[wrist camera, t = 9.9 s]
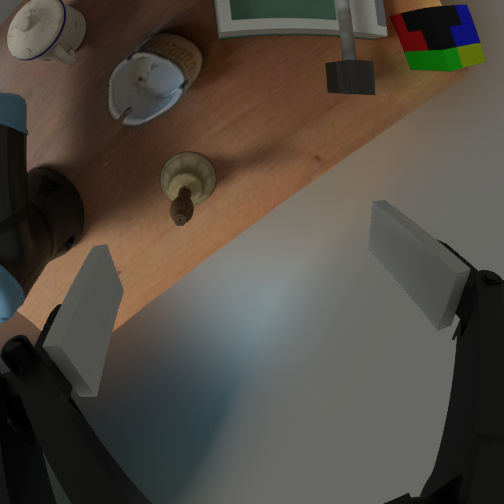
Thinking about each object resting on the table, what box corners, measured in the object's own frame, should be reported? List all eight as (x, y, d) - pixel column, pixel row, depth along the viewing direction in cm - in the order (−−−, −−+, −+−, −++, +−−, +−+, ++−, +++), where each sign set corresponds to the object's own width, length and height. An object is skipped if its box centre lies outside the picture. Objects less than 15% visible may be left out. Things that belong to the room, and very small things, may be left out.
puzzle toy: (429, 10, 33) (466, 4, 24) (447, 59, 38) (485, 61, 29) (389, 16, 34) (426, 7, 25) (410, 69, 39) (449, 71, 30)
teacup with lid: (28, 40, 27) (-14, 34, 17) (70, -3, 26) (36, -22, 16) (64, 86, 33) (25, 89, 23) (109, 43, 32) (80, 30, 22)
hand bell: (148, 177, 43) (124, 220, 29) (191, 140, 41) (184, 165, 27) (185, 215, 47) (179, 272, 33) (227, 181, 45) (238, 226, 31)
